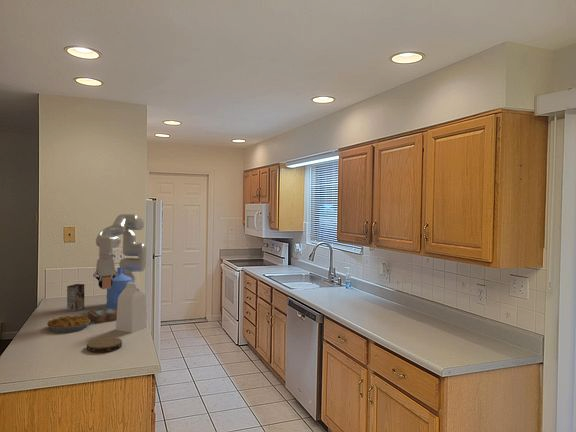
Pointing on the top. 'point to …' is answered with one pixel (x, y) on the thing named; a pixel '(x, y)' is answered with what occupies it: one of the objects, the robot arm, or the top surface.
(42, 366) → the top surface
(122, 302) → the milk
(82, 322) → the pie
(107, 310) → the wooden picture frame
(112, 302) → the water jug
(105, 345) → the brown round disc
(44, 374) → the top surface
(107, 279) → the terracotta block
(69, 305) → the coffee box
